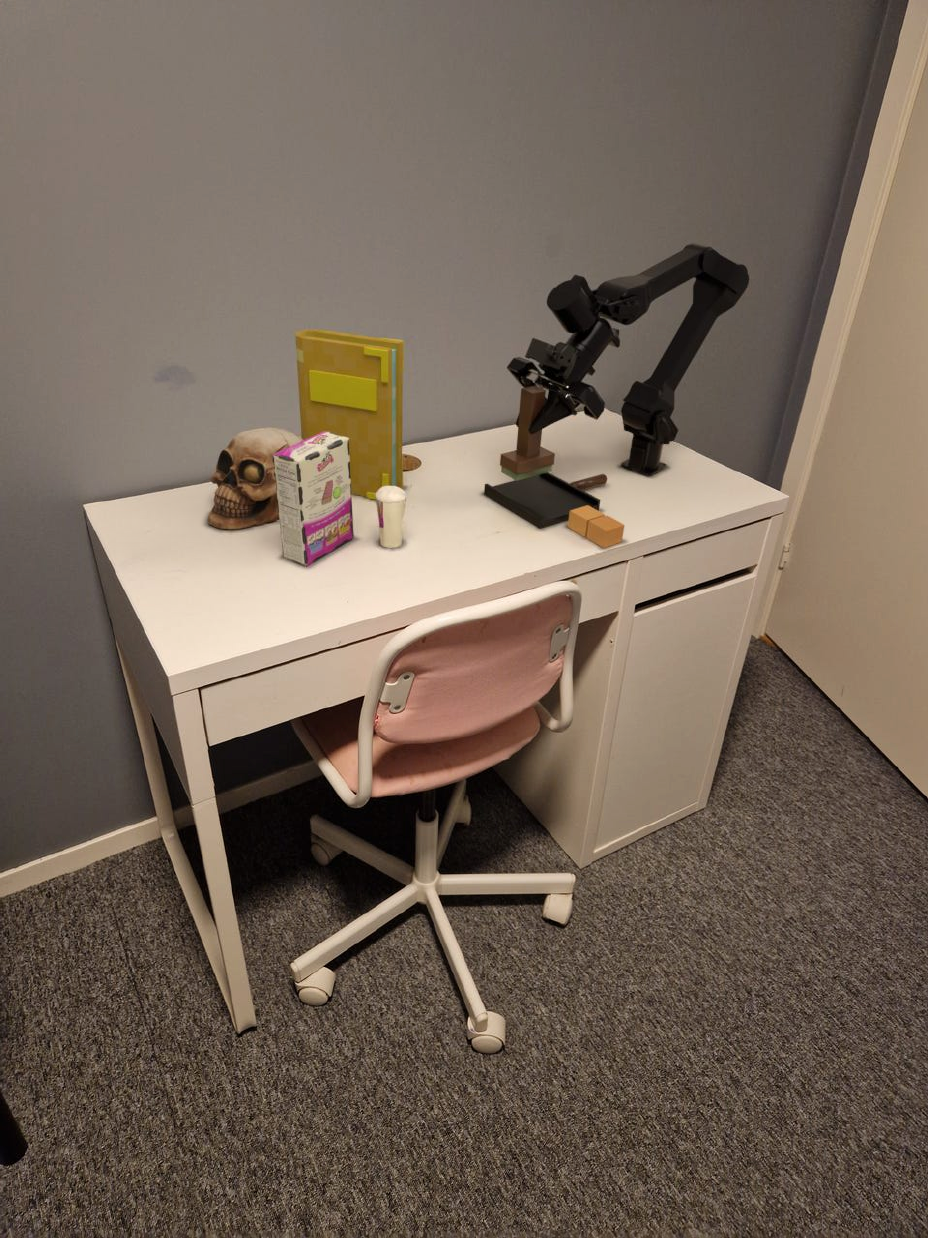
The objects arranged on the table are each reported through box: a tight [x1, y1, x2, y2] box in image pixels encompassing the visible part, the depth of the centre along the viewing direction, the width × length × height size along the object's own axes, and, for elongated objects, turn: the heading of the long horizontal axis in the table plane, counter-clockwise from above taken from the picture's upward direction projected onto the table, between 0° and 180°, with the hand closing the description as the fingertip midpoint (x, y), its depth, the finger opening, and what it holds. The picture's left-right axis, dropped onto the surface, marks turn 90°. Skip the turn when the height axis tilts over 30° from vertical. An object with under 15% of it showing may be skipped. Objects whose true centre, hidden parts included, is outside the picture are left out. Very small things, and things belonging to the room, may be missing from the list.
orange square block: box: [585, 514, 625, 549], centre depth 134 cm, size 4×4×3 cm
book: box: [295, 328, 405, 501], centre depth 140 cm, size 17×7×25 cm, turn 71°
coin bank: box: [207, 427, 303, 530], centre depth 136 cm, size 16×17×13 cm
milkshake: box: [375, 485, 412, 549], centre depth 127 cm, size 4×5×10 cm
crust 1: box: [567, 505, 606, 538], centre depth 136 cm, size 4×4×3 cm
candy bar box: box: [273, 431, 355, 567], centre depth 123 cm, size 11×5×16 cm, turn 148°
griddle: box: [483, 472, 608, 529], centre depth 147 cm, size 22×15×2 cm
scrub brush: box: [499, 386, 556, 481], centre depth 138 cm, size 8×4×14 cm, turn 127°
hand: (523, 429), depth 137 cm, fingers closed on scrub brush, 3 cm apart
